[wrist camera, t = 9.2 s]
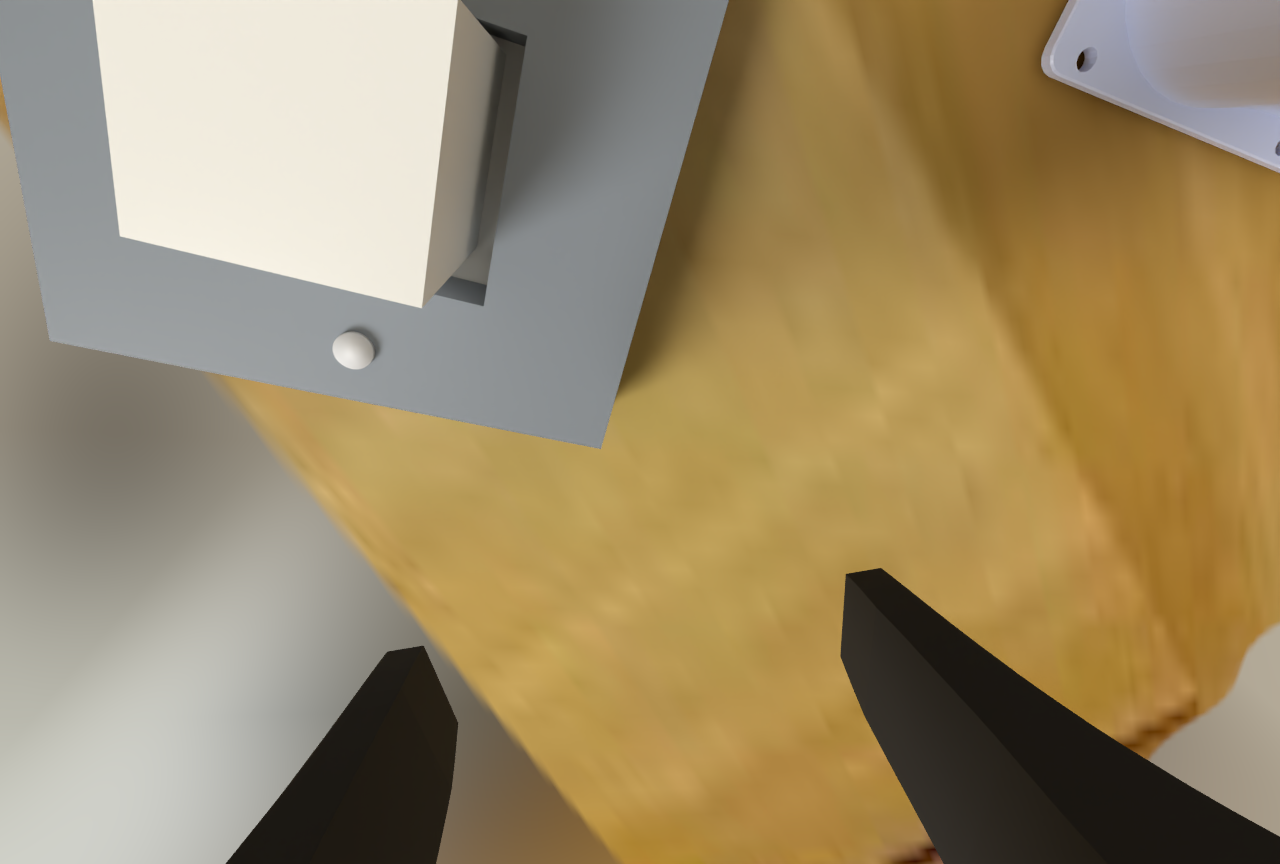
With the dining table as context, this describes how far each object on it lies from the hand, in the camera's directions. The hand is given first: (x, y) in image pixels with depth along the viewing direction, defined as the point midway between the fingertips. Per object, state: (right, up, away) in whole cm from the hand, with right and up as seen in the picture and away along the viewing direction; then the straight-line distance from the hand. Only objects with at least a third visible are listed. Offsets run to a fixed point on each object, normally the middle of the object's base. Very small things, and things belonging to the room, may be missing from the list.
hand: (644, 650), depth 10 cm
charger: (-6, +11, +4) cm, 13 cm away
